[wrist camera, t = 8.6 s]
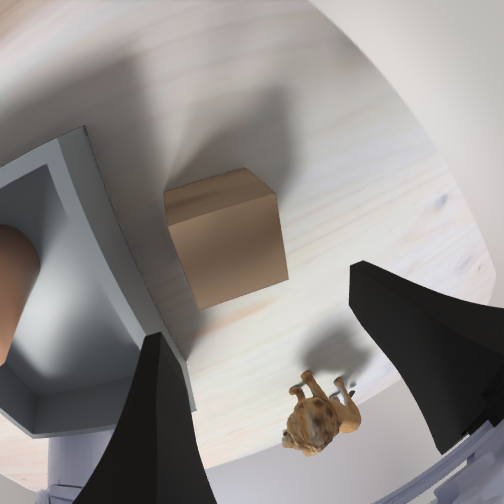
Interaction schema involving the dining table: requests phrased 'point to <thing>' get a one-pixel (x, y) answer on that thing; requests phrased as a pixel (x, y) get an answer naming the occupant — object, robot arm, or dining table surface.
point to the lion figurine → (319, 417)
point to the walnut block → (226, 236)
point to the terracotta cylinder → (14, 281)
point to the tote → (73, 297)
